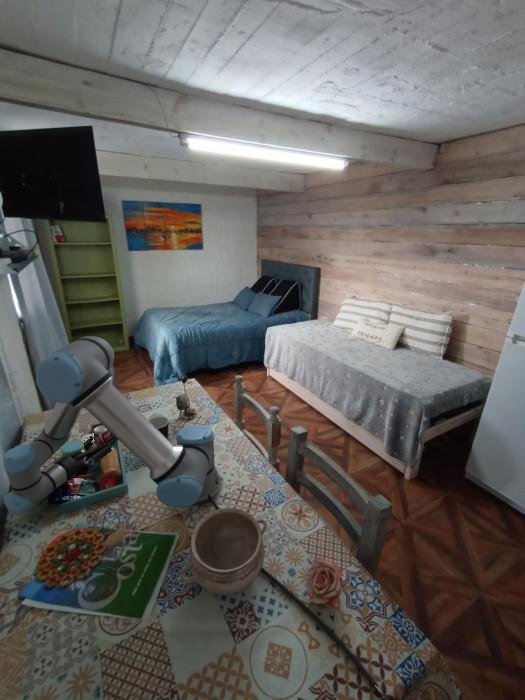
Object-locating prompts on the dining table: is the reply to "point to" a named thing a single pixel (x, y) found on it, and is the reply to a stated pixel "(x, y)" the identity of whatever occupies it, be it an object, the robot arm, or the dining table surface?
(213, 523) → the cooking pot
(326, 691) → the dining table surface
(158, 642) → the dining table surface
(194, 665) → the dining table surface
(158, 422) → the coffee mug
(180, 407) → the plant with pod
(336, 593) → the flower
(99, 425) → the holder
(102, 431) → the soda can
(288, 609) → the dining table surface
